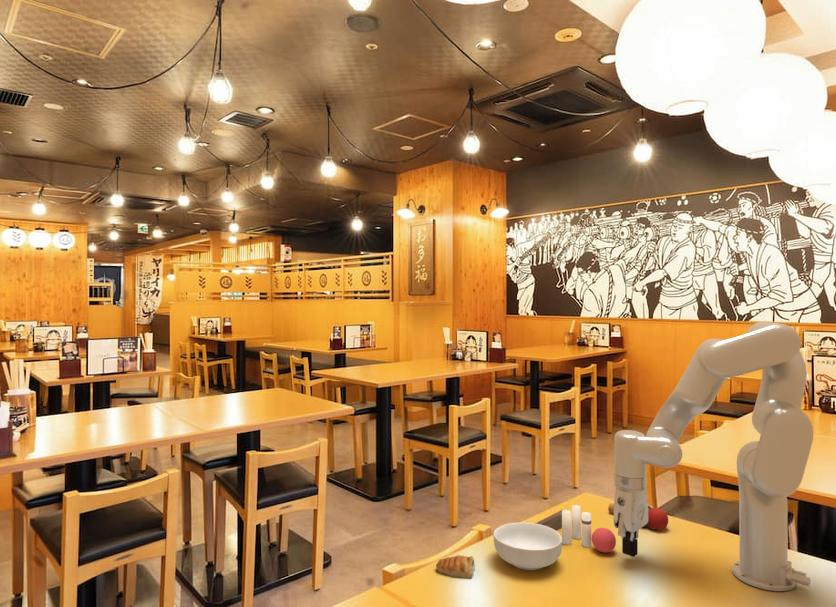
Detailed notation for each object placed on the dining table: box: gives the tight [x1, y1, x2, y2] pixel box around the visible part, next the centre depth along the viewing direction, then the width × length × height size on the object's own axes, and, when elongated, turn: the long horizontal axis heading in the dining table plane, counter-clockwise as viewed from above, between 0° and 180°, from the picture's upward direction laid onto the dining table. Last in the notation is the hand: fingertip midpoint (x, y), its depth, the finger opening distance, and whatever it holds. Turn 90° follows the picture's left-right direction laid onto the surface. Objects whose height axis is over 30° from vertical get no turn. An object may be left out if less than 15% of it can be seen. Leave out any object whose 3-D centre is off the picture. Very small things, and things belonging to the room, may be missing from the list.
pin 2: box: [571, 504, 582, 540], centre depth 150 cm, size 2×2×8 cm
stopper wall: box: [535, 509, 563, 532], centre depth 153 cm, size 2×16×4 cm, turn 133°
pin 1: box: [561, 509, 572, 546], centre depth 147 cm, size 2×2×8 cm
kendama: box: [607, 502, 669, 531], centre depth 160 cm, size 8×6×18 cm
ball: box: [591, 527, 617, 554], centre depth 141 cm, size 6×6×6 cm
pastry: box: [435, 554, 476, 579], centre depth 132 cm, size 9×7×4 cm
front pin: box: [581, 511, 592, 548], centre depth 145 cm, size 2×2×8 cm
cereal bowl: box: [493, 521, 563, 571], centre depth 136 cm, size 17×17×7 cm
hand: (629, 553), depth 136 cm, fingers closed
